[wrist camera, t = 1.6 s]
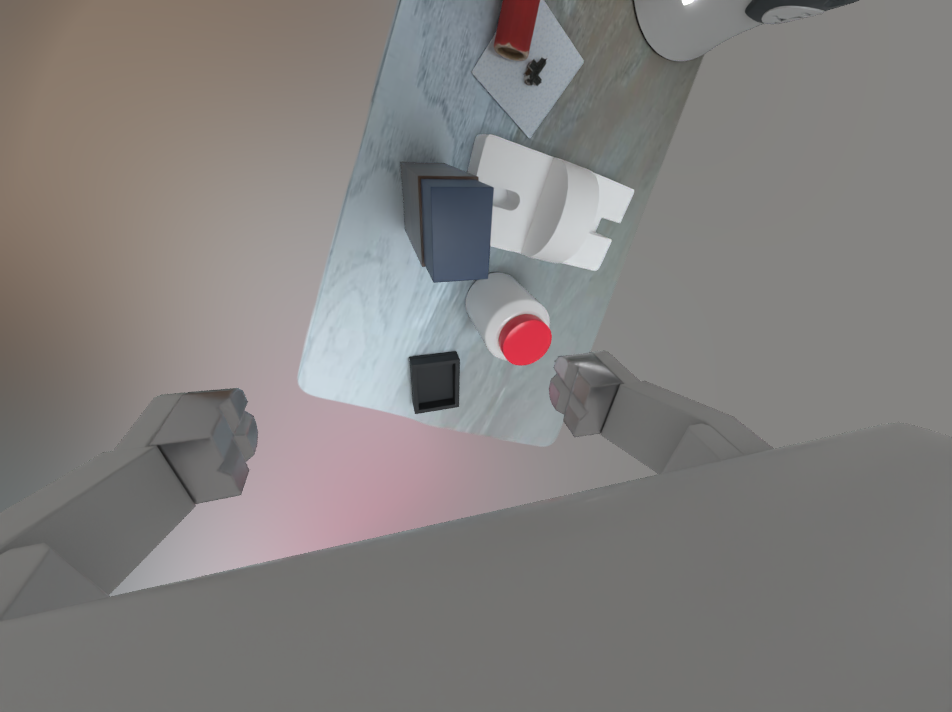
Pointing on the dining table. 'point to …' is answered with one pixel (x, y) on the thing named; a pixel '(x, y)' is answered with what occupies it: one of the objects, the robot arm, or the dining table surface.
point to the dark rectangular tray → (435, 381)
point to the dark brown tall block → (413, 197)
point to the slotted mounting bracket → (546, 203)
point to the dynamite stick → (516, 28)
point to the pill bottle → (509, 319)
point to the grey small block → (531, 73)
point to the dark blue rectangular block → (456, 228)
